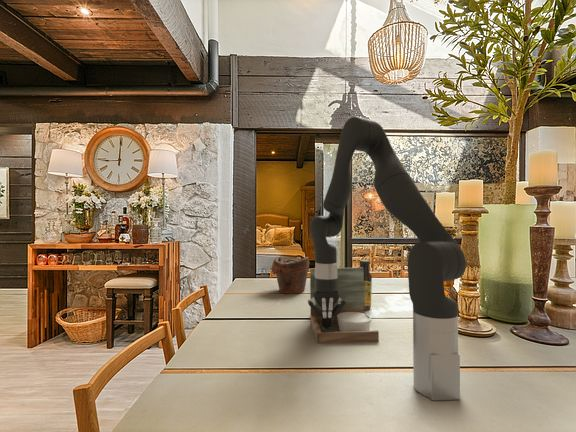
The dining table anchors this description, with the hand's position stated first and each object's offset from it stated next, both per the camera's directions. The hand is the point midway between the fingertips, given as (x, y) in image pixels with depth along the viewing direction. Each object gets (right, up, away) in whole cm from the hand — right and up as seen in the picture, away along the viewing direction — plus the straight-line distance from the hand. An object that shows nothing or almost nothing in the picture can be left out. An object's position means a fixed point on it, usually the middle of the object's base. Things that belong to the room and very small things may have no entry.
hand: (326, 328), depth 111 cm
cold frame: (+6, -1, 0) cm, 6 cm away
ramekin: (+9, -2, +1) cm, 9 cm away
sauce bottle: (+19, -1, +28) cm, 34 cm away
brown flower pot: (-11, -1, +61) cm, 62 cm away
